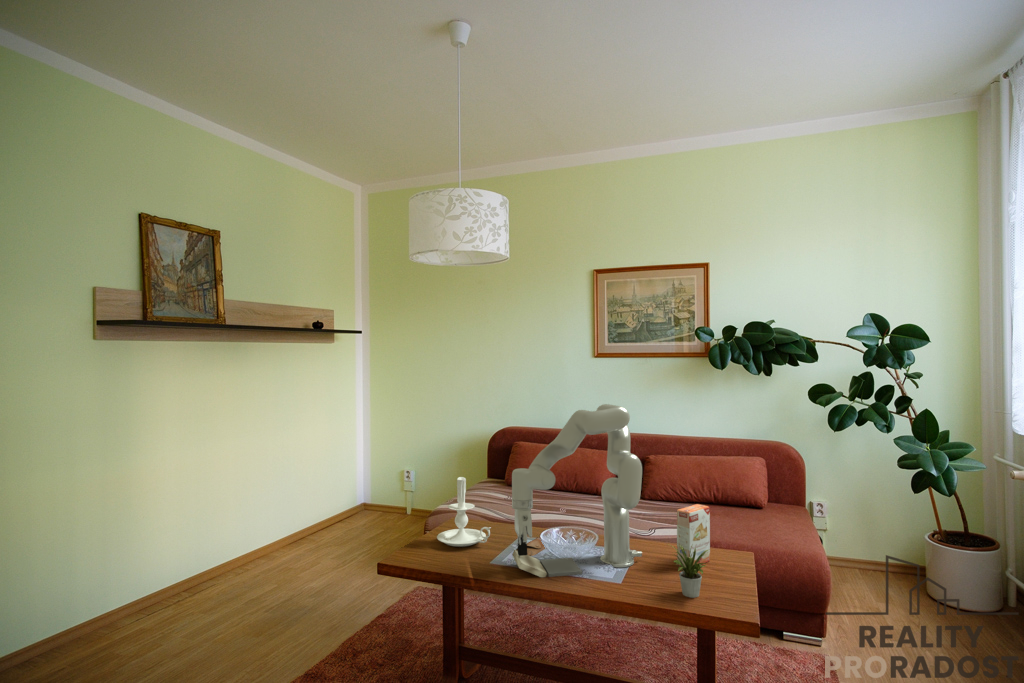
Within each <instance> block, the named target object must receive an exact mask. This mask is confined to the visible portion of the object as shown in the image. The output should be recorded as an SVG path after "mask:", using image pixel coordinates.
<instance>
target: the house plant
mask: <svg viewBox="0 0 1024 683" xmlns="http://www.w3.org/2000/svg"><path fill="white" fill-rule="evenodd" d="M666 545H669V546H670V547H672V548H673V549H675V553H676V554H673V556H675V557H676V559H674V560H673V562H674V563H675V564H676V565H677V564H678V565H680V566H678V565H677V567H678V569H677V572H679V571H681V572H679V580H680V587H681V592H682V595H683V596H685V597H687V598H698V597H699V596H700V591H701V585H702V584H701V583H702V578H703V574H704V570H703V569H702V568H703V567H707V562H706V563H698V561H699V560H700V558H701V557H702V556H703V555H704V554H705V552H707V551H708V550H706V551H704V552H703V553H702V554H701V555H700V556H699V557H698V558H697V560H696V561H695V563H694V559H695V555H696V548H695V549H694V552H693V558H691V556H692V554H691V556H690V555H689V557H687V555H686V553H685V550H684V548H683V546H682V545H681V546H679V547H680V549H681V551H682V553H683V555H684V557H685V560H684V558H683V557H682V555H680V554H679V552H678V551H677V547H675V546H673V545H671V544H667V543H666ZM692 545H693V544H692ZM691 548H692V546H691ZM677 552H678V553H677ZM690 553H691V549H690ZM677 554H679V555H680V557H681V558H682V560H683V562H684V564H685V566H686V567H685V566H684V565H683V563H682V562H681V560H680V559H679V557H678V556H677ZM677 558H678V559H679V560H680V561H678V560H677ZM685 561H686V562H685ZM673 562H672V563H673ZM697 563H698V564H697ZM693 564H694V565H693ZM700 573H701V574H700Z"/></svg>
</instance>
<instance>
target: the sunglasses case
mask: <svg viewBox="0 0 1024 683" xmlns="http://www.w3.org/2000/svg"><path fill="white" fill-rule="evenodd" d="M541 541H542V539H540V538H539V537H535V539H532V540H530V541H527V555H529V556H531V557H533V556H535V555H538V554H539V553H541V552H543V551H545V550H546V549H545V547H544V545H543V544H542V542H541ZM515 550H517V551H518V547H517V548H515Z"/></svg>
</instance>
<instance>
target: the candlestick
mask: <svg viewBox="0 0 1024 683" xmlns="http://www.w3.org/2000/svg"><path fill="white" fill-rule="evenodd" d="M466 483H467V478H466V477H464V476H459V477H457V478H456V488H457V489H456V492H457V495H456V497H457V501H456V502H457V503H451V504H448V505H447V508H448V509H450V510H454V511H456V515H455V517H454V523H455V526H456V527H457V528H454V529H448V530H445V531H442V532H440V533H438V535H436V539H437V540H438V541H439V542H441V543H444V544H445V545H447V546H451V547H459V548H460V547H462V548H464V547H470V546H473V545H475V544H478V543H483V544H485V543H487V541H488V539H489V537H490V536H491V530H490V529H492V527H490V526H489V527H487V526H484V527H481V528H480V530H479V529H475V528H474V529H473V528H466V526H467V525H468V523H469V518H468V516H467V513H466V512H467V511H468V510H471V509H473V508H475V506H476V505H475V504H473V503H470V502H466V493H467V484H466ZM483 530H486V531H487V534H486V533H485V532H484V531H483Z"/></svg>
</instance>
